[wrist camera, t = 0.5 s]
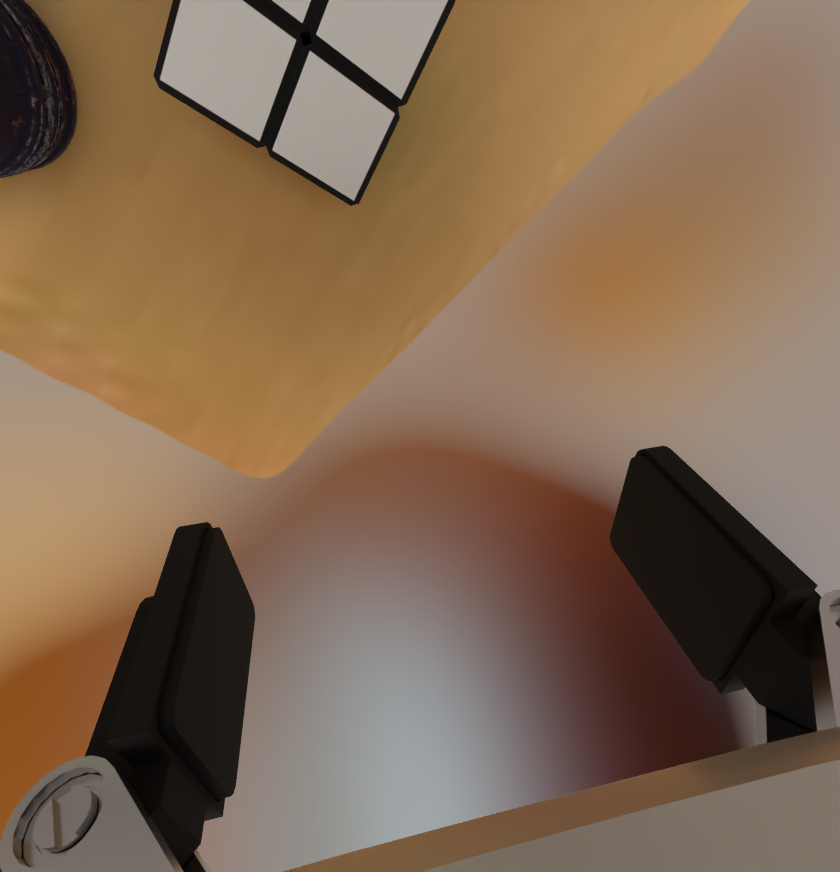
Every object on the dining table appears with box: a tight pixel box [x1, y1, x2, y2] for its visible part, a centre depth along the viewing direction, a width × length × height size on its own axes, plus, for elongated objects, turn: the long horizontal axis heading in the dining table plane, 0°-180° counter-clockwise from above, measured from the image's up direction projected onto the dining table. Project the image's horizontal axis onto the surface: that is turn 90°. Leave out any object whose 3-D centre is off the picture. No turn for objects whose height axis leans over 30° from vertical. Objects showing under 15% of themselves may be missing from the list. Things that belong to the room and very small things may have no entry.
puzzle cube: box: [154, 0, 455, 206], centre depth 24 cm, size 10×10×10 cm
